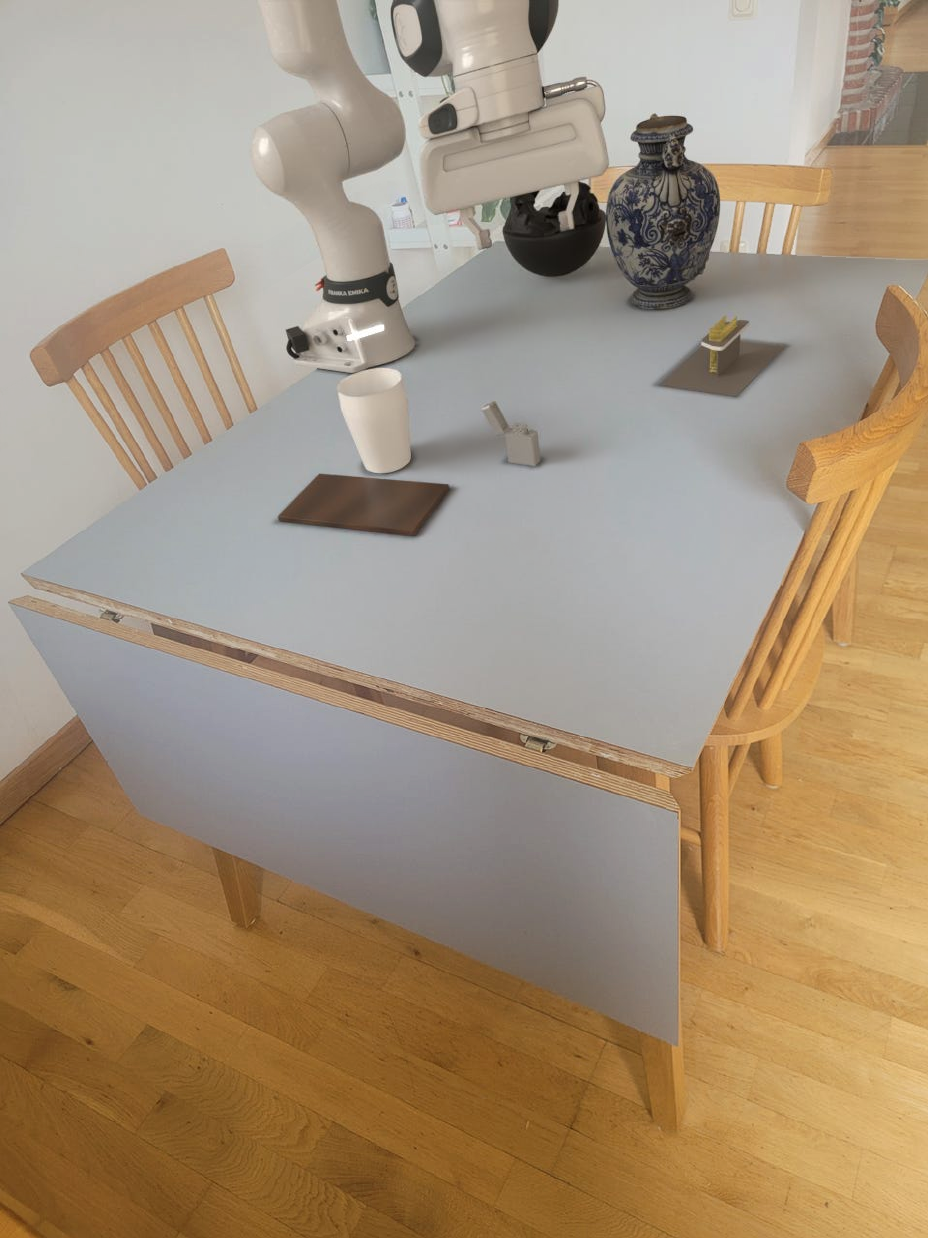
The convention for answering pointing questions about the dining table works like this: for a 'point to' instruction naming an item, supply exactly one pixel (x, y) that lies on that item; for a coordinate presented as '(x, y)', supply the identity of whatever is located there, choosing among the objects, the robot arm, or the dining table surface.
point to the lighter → (514, 437)
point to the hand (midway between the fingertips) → (526, 238)
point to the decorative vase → (662, 215)
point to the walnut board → (365, 504)
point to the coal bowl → (554, 233)
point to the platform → (723, 361)
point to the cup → (377, 417)
